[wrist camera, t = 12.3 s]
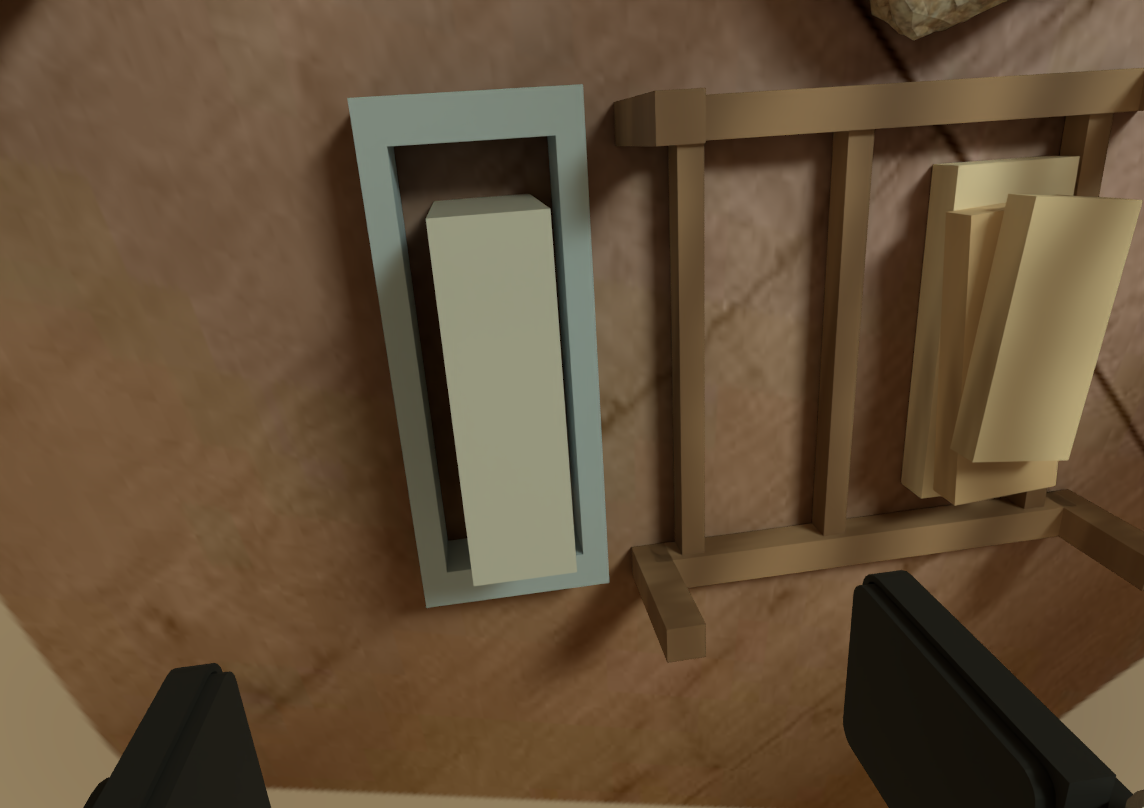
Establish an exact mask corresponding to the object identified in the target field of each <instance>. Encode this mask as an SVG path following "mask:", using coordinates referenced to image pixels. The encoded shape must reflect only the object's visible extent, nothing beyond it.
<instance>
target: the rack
mask: <svg viewBox="0 0 1144 808" xmlns="http://www.w3.org/2000/svg"><path fill="white" fill-rule="evenodd" d="M1128 111H1144V68H1133V69H1117V70H1101V71H1084V72H1068V73H1052V74H1036V75H1019V76H1003V77H987V78H970V79H954V80H938V81H921V82H905V83H889V84H873V85H856V86H840V87H824V88H807V89H791V90H775V91H759V92H742V93H726V94H710V95H706V88H694V89H677V90H661V91H653V92H649V93H645V94H642V95H638V96H635V97H631V98H627V99H624V100H620V101H616V102H614V121H615V146H668V160H669V220H670V280H671V340H672V400H673V460H674V520H675V541H674V542H667V543H659V544H651V545H644V546H636V547H632V571H633V578H634V580H635V583H636V585H637V588H638V590H639V593H640V595H641V598H642V600H643V603H644V605H645V608H646V610H647V613H648V615H649V618H650V620H651V623H652V625H653V628H654V630H655V633H656V635H657V638H658V640H659V643H660V645H661V648H662V650H663V653H664V655H665V658H666V660H667V663H669V662H676V661H683V660H689V659H696V658H702V657H706V624H705V622H704V620H703V618H702V616H701V614H700V612H699V610H698V608H697V606H696V604H695V602H694V600H693V598H692V596H691V594H690V592H689V590H688V588H692V587H699V586H706V585H713V584H720V583H727V582H734V581H742V580H749V579H756V578H763V577H770V576H777V575H784V574H792V573H799V572H806V571H813V570H820V569H827V568H834V567H842V566H849V565H856V564H863V563H870V562H877V561H884V560H892V559H899V558H906V557H913V556H920V555H927V554H934V553H942V552H949V551H956V550H963V549H970V548H977V547H984V546H992V545H999V544H1006V543H1013V542H1020V541H1027V540H1034V539H1042V538H1049V537H1056V536H1059V537H1060V538H1062V539H1064V540H1065V541H1067V542H1068V543H1070V544H1071V545H1073V546H1074V547H1076V548H1077V549H1079V550H1080V551H1082V552H1083V553H1085V554H1086V555H1088V556H1090V557H1091V558H1093V559H1094V560H1096V561H1097V562H1099V563H1100V564H1102V565H1103V566H1105V567H1106V568H1108V569H1109V570H1111V571H1112V572H1114V573H1116V574H1117V575H1119V576H1120V577H1122V578H1123V579H1125V580H1126V581H1128V582H1129V583H1131V584H1132V585H1134V586H1135V587H1137V588H1138V589H1140V590H1142V591H1144V532H1143V531H1141V530H1139V529H1137V528H1135V527H1134V526H1132V525H1130V524H1128V523H1127V522H1125V521H1123V520H1121V519H1120V518H1118V517H1116V516H1114V515H1113V514H1111V513H1109V512H1107V511H1105V510H1104V509H1102V508H1100V507H1098V506H1097V505H1095V504H1093V503H1091V502H1090V501H1088V500H1086V499H1084V498H1083V497H1081V496H1079V495H1077V494H1075V493H1074V492H1072V491H1070V490H1068V489H1067V490H1060V491H1052V492H1047V488H1042V489H1037V490H1032V491H1027V492H1021V493H1016V494H1011V495H1006V498H999V499H992V500H984V501H976V502H971V503H966V504H961V505H956V506H954V505H946V506H939V507H931V508H924V509H916V510H908V511H901V512H893V513H886V514H878V515H871V516H863V517H855V518H848V519H846V512H847V499H848V485H849V471H850V458H851V444H852V431H853V417H854V404H855V390H856V377H857V363H858V350H859V336H860V322H861V309H862V295H863V282H864V268H865V255H866V241H867V228H868V214H869V201H870V187H871V174H872V160H873V146H874V133H875V129H881V128H895V127H910V126H924V125H939V124H953V123H968V122H982V121H997V120H1012V119H1026V118H1041V117H1055V116H1066V118H1065V125H1064V131H1063V137H1062V144H1061V150H1060V156H1080V158H1079V164H1078V170H1077V176H1076V182H1075V188H1074V194H1073V196H1082V197H1099V194H1100V188H1101V182H1102V177H1103V171H1104V165H1105V160H1106V154H1107V148H1108V143H1109V137H1110V131H1111V126H1112V120H1113V115H1114V112H1128ZM822 132H834V133H833V151H832V169H831V187H830V204H829V222H828V240H827V258H826V276H825V294H824V312H823V330H822V348H821V366H820V383H819V401H818V419H817V437H816V455H815V473H814V491H813V509H812V523H810V524H803V525H795V526H787V527H780V528H772V529H765V530H757V531H750V532H742V533H735V534H727V535H719V536H712V537H705V467H704V143H706V140H721V139H735V138H750V137H764V136H779V135H793V134H808V133H822Z"/></svg>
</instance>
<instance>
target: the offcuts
mask: <svg viewBox="0 0 1144 808" xmlns="http://www.w3.org/2000/svg"><path fill="white" fill-rule="evenodd" d="M1079 158H1080V156H1039V157H1026V158H1012V159H999V160H986V161H973V162H959V163H946V164H933V170H932V180H931V189H930V199H929V209H928V219H927V229H926V239H925V249H924V259H923V269H922V279H921V289H920V298H919V308H918V318H917V328H916V338H915V348H914V358H913V368H912V378H911V388H910V398H909V407H908V417H907V427H906V437H905V447H904V457H903V467H902V477H901V484H903V485H904V486H905V487H907V488H908V489H909V490H911V491H912V492H913V493H915V494H916V495H917V496H918V497H920V498H921V499H923V498H930V497H938V496H942V497H943V498H945V499H946V500H948V501H949V502H950V503H952V504H953V505H954V506H956V505H961V504H966V503H971V502H976V501H981V500H986V499H991V498H996V497H1001V496H1006V495H1011V494H1016V493H1021V492H1027V491H1032V490H1037V489H1042V488H1047V487H1052V486H1056V477H1057V468H1058V460H1069V456H1070V453H1071V449H1072V446H1073V442H1074V439H1075V435H1076V432H1077V428H1078V425H1079V421H1080V418H1081V414H1082V411H1083V407H1084V404H1085V400H1086V397H1087V394H1088V390H1089V387H1090V383H1091V380H1092V376H1093V373H1094V369H1095V366H1096V362H1097V359H1098V355H1099V352H1100V348H1101V345H1102V341H1103V338H1104V334H1105V331H1106V327H1107V324H1108V320H1109V317H1110V313H1111V310H1112V306H1113V303H1114V299H1115V296H1116V292H1117V289H1118V285H1119V282H1120V278H1121V275H1122V271H1123V268H1124V264H1125V261H1126V257H1127V254H1128V251H1129V247H1130V244H1131V240H1132V237H1133V233H1134V230H1135V226H1136V223H1137V219H1138V216H1139V212H1140V209H1141V205H1142V202H1143V200H1133V199H1121V198H1107V197H1082V196H1073V194H1074V188H1075V182H1076V176H1077V170H1078V164H1079Z"/></svg>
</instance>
